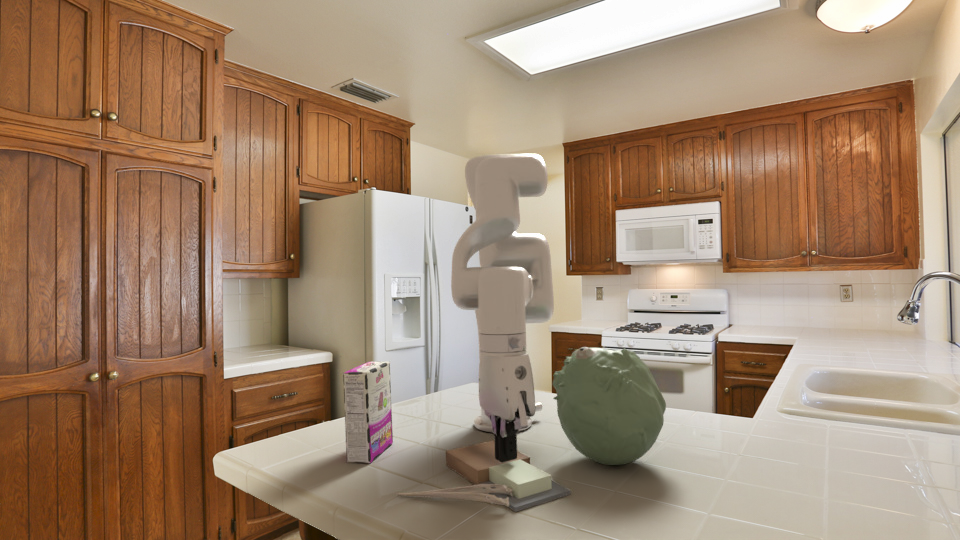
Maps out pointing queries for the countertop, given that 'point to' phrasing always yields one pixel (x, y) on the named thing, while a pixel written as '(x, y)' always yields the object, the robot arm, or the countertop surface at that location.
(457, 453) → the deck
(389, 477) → the countertop surface
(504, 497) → the mat
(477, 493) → the tweezers
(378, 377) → the candy bar box
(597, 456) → the cabbage
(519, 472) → the pale green sponge block
